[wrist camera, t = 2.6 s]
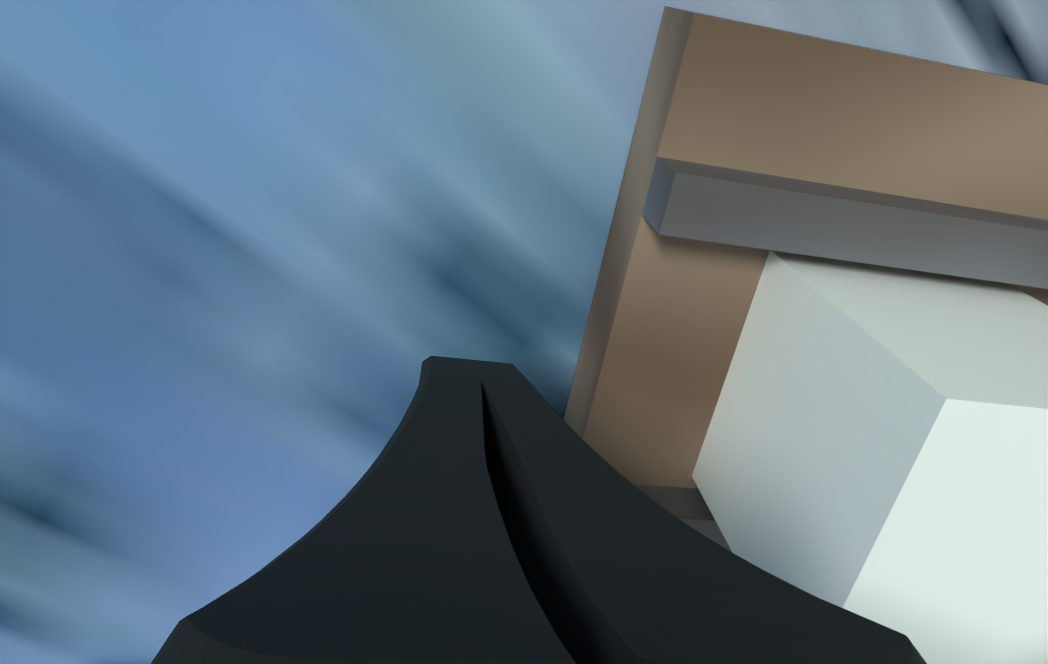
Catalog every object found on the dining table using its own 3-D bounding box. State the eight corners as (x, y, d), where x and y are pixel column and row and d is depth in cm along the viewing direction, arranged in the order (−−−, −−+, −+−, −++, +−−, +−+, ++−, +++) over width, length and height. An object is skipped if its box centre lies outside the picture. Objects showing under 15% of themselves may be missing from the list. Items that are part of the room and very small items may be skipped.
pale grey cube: (903, 491, 17) (1082, 690, 12) (691, 476, 16) (803, 685, 11) (1007, 283, 14) (1271, 431, 10) (769, 249, 13) (946, 398, 9)
